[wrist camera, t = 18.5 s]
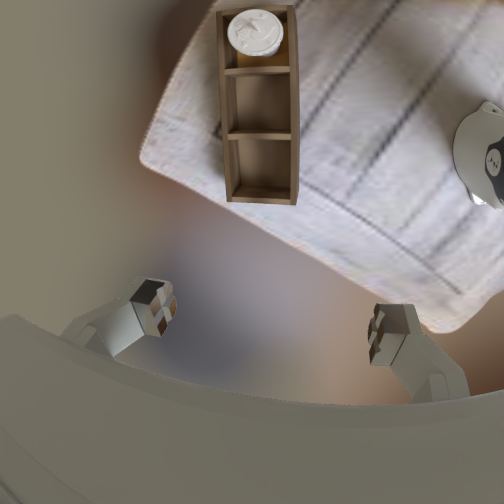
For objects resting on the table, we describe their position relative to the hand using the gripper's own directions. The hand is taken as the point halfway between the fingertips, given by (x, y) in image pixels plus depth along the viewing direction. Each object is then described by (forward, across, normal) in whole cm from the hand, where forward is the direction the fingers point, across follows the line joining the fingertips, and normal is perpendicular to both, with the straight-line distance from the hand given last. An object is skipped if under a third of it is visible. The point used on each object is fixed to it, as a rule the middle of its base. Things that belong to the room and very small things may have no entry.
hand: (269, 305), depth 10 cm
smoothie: (+34, +5, -16) cm, 38 cm away
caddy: (+35, +6, -7) cm, 36 cm away
